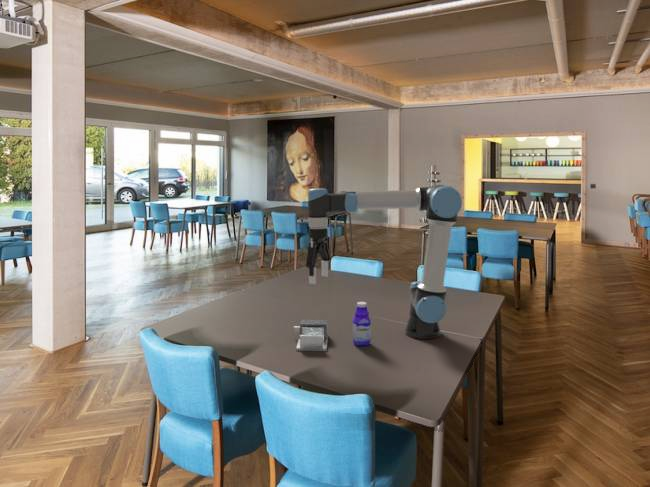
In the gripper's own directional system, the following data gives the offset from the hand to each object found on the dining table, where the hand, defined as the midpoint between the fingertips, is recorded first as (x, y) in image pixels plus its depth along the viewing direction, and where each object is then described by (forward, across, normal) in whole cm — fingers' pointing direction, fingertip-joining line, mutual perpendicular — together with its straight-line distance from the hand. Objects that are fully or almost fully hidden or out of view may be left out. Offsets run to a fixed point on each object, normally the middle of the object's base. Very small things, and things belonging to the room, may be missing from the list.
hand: (318, 279), depth 196 cm
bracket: (+26, +4, -2) cm, 27 cm away
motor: (+26, -4, -6) cm, 27 cm away
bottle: (+27, -5, +16) cm, 32 cm away
